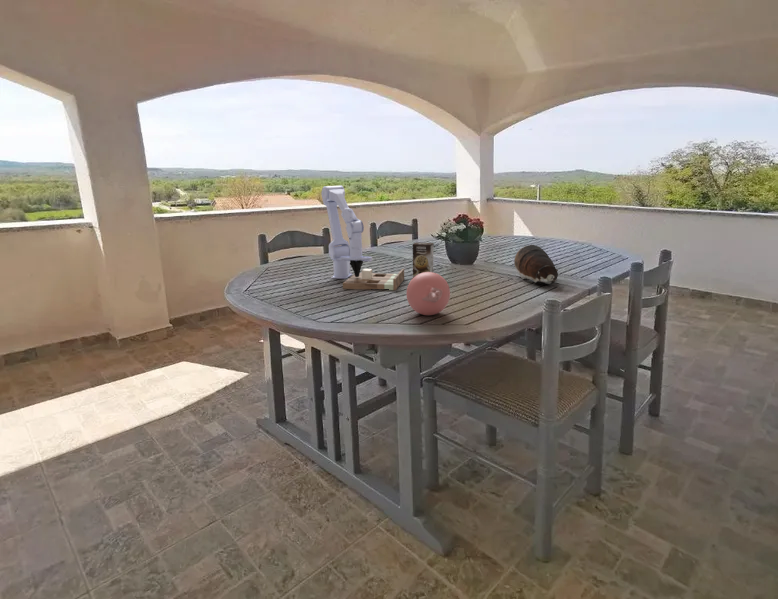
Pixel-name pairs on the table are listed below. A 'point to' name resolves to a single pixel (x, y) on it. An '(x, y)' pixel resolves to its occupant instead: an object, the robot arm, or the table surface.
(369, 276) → the block
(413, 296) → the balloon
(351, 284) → the deck
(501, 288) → the table surface
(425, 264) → the cookie box
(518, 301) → the table surface
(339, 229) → the robot arm
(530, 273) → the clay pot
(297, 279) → the table surface
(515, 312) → the table surface
